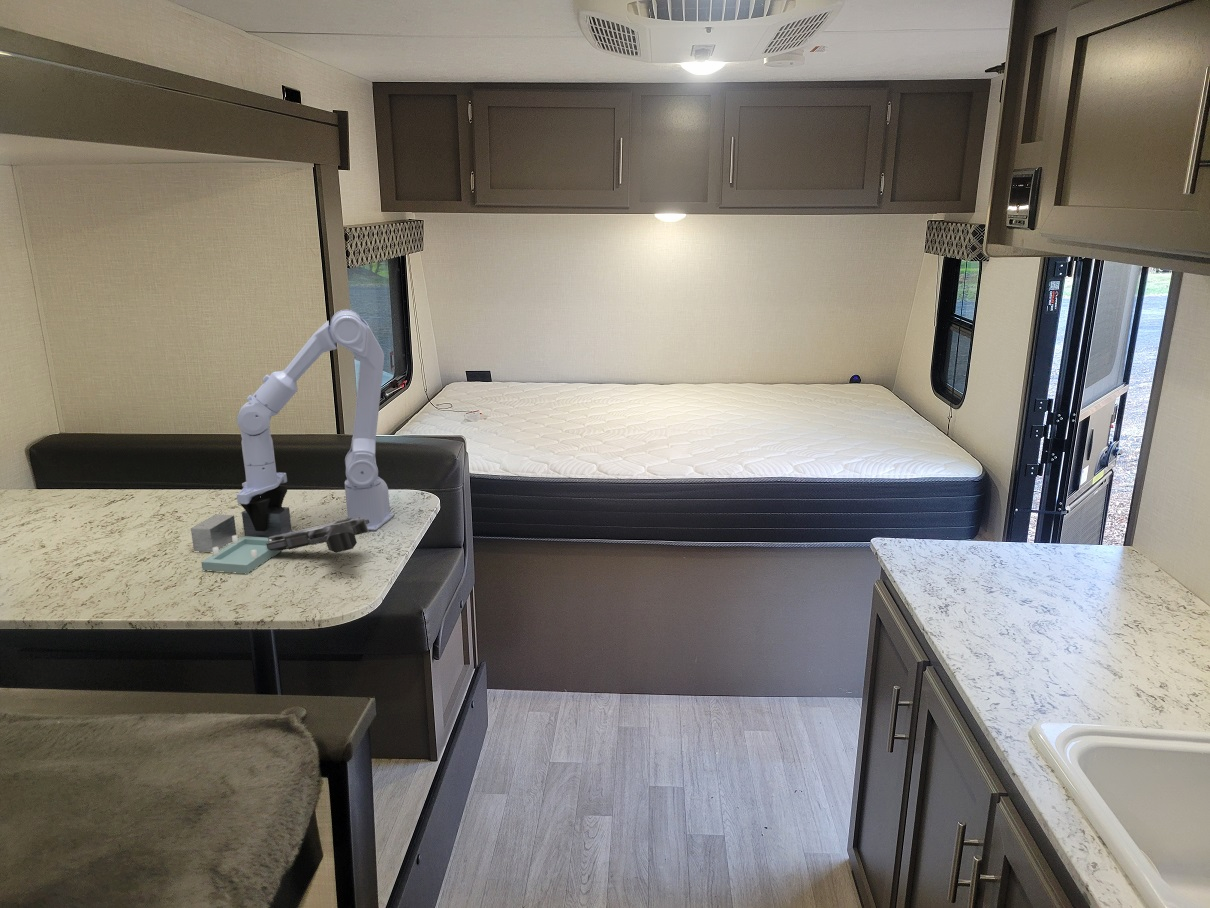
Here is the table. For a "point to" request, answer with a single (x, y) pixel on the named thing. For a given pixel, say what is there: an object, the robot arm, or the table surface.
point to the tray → (239, 555)
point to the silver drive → (213, 532)
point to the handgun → (322, 536)
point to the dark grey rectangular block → (269, 522)
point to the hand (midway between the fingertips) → (267, 526)
